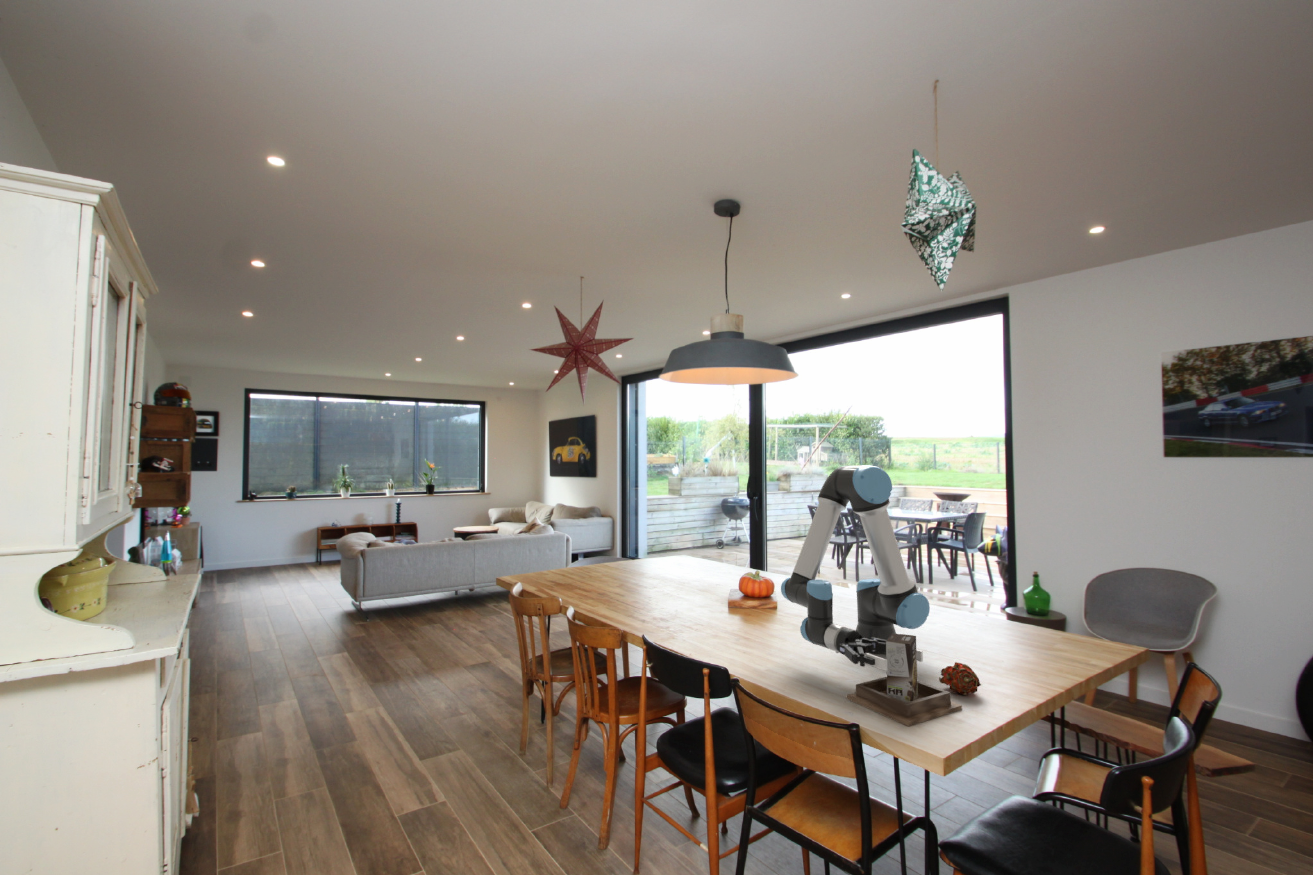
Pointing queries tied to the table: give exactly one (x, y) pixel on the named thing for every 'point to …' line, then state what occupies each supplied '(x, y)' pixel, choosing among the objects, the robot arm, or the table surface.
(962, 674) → the dragon fruit
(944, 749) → the table surface
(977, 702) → the table surface
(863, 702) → the holder
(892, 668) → the coffee box
